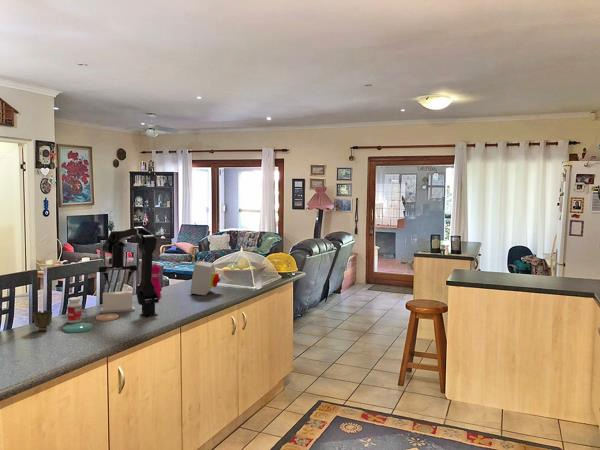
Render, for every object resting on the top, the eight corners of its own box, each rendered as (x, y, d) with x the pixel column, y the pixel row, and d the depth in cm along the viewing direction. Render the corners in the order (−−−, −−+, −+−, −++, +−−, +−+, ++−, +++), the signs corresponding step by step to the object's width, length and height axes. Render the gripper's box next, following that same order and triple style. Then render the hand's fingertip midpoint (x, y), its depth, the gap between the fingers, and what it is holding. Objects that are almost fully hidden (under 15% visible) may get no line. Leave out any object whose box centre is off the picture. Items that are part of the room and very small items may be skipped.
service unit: (134, 310, 249) (134, 293, 249) (100, 313, 244) (100, 295, 243) (134, 307, 256) (134, 290, 255) (101, 309, 250) (101, 292, 250)
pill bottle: (64, 321, 227) (64, 298, 226) (78, 319, 232) (77, 296, 231) (71, 324, 223) (70, 300, 222) (84, 321, 228) (84, 298, 227)
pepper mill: (158, 298, 278) (158, 263, 277) (146, 297, 280) (146, 263, 278) (164, 295, 285) (164, 261, 284) (152, 294, 287) (152, 261, 285)
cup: (32, 333, 208) (32, 315, 207) (33, 329, 214) (32, 311, 214) (52, 331, 211) (52, 313, 211) (52, 327, 218) (52, 309, 217)
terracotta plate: (122, 318, 235) (122, 316, 235) (103, 322, 227) (103, 320, 227) (110, 314, 241) (110, 312, 241) (91, 318, 233) (91, 316, 233)
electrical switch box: (214, 299, 288) (219, 266, 286) (189, 295, 288) (194, 262, 286) (218, 294, 302) (223, 262, 301) (195, 290, 302) (200, 258, 301)
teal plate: (98, 328, 217) (98, 326, 217) (71, 334, 208) (71, 332, 208) (83, 323, 225) (83, 321, 224) (57, 329, 215) (57, 326, 215)
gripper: (135, 252, 266) (135, 280, 267) (98, 253, 258) (98, 282, 259) (137, 255, 255) (137, 284, 256) (98, 256, 248) (98, 286, 249)
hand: (117, 284), depth 256 cm, fingers open, 9 cm apart
